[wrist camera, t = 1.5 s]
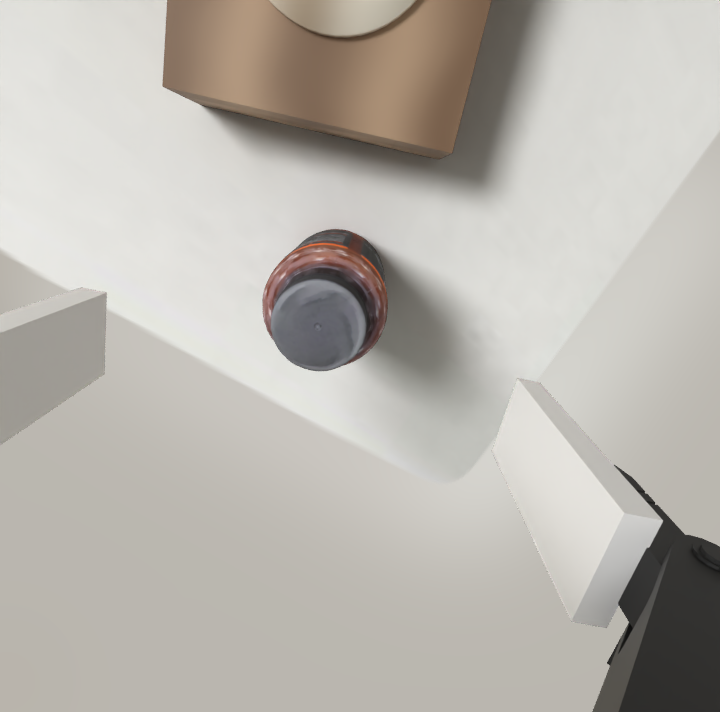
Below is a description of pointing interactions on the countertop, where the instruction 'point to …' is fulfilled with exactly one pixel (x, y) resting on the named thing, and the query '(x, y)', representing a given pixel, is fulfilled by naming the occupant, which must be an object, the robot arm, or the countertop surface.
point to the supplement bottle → (326, 301)
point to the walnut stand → (332, 64)
